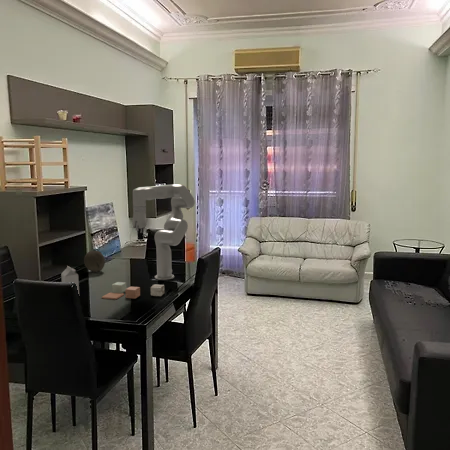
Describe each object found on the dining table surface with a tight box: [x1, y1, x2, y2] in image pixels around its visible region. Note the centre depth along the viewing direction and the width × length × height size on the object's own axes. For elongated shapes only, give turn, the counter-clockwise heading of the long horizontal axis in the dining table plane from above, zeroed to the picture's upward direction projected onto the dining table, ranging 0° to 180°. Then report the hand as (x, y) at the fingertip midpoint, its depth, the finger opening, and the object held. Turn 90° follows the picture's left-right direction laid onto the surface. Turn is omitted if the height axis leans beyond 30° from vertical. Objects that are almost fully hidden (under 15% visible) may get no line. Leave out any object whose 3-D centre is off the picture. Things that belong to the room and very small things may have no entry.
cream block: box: [150, 284, 165, 297], centre depth 260 cm, size 6×6×5 cm
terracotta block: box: [124, 286, 141, 299], centre depth 256 cm, size 6×6×5 cm
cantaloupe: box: [83, 250, 106, 273], centre depth 313 cm, size 14×14×15 cm
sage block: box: [111, 281, 128, 293], centre depth 266 cm, size 6×6×5 cm
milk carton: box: [60, 265, 80, 295], centre depth 248 cm, size 7×7×19 cm
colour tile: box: [101, 292, 125, 300], centre depth 257 cm, size 9×9×1 cm
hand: (140, 239), depth 274 cm, fingers closed
